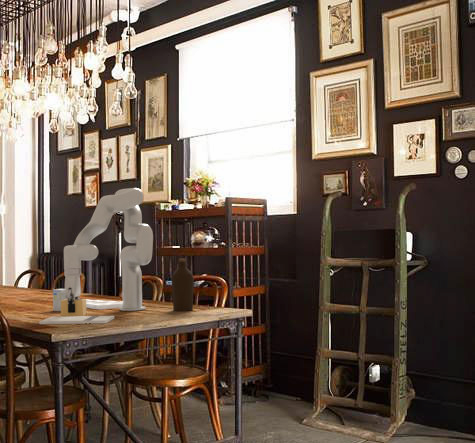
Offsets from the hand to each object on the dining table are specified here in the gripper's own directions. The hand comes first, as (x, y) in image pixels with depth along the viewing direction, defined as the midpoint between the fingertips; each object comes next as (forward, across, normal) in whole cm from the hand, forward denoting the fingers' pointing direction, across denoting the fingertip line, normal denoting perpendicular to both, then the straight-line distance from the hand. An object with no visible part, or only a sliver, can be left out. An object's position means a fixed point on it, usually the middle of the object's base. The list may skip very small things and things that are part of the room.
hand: (73, 311), depth 293 cm
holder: (+4, -51, -4) cm, 51 cm away
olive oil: (+4, -21, +48) cm, 52 cm away
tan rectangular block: (+2, 0, 0) cm, 2 cm away
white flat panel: (+2, +16, +7) cm, 18 cm away
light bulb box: (+3, -27, -12) cm, 30 cm away
